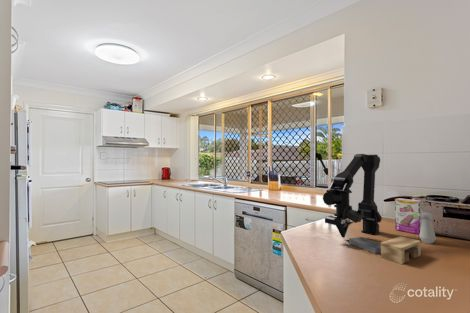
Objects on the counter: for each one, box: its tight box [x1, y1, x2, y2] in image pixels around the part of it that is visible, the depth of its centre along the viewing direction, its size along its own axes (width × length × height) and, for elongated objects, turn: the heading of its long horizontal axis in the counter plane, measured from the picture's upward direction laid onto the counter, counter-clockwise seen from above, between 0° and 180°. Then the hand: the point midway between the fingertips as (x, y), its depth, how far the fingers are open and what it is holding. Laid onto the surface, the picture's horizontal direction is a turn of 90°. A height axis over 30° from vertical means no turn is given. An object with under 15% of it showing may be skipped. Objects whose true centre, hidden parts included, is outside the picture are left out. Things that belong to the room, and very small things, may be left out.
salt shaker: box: [418, 211, 437, 245], centre depth 109 cm, size 6×6×13 cm
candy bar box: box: [394, 197, 424, 236], centre depth 125 cm, size 11×5×16 cm, turn 34°
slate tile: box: [348, 236, 381, 255], centre depth 103 cm, size 14×7×2 cm, turn 16°
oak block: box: [380, 235, 421, 265], centre depth 92 cm, size 7×15×6 cm, turn 122°
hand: (343, 237), depth 113 cm, fingers closed
